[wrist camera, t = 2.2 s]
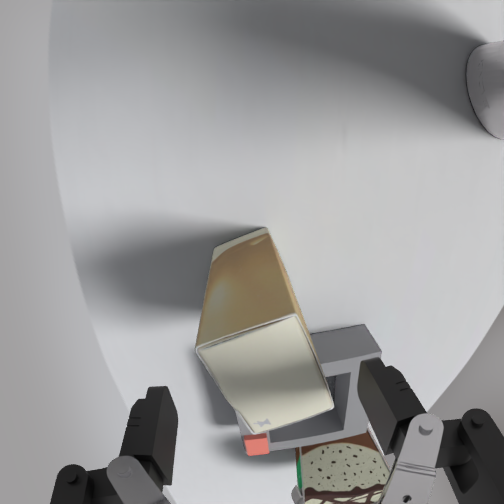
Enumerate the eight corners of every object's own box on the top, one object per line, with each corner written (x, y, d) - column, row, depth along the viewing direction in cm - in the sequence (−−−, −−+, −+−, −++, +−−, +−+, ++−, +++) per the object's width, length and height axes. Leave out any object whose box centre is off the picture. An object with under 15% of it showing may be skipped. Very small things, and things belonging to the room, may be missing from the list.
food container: (267, 454, 33) (276, 524, 23) (284, 425, 31) (298, 503, 21) (355, 454, 34) (375, 514, 25) (378, 427, 32) (405, 490, 23)
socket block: (364, 324, 26) (384, 355, 22) (355, 405, 30) (367, 436, 26) (227, 345, 26) (227, 382, 22) (244, 424, 30) (246, 458, 26)
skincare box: (295, 294, 25) (339, 412, 13) (244, 314, 25) (254, 440, 14) (265, 221, 23) (300, 311, 11) (209, 244, 23) (190, 351, 11)
